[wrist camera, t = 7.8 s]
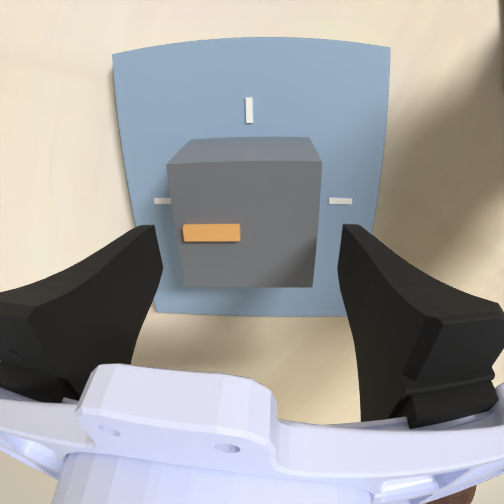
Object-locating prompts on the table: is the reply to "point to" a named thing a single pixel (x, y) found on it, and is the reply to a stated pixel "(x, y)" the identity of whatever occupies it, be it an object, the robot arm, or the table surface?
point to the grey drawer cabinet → (246, 211)
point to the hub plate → (255, 125)
